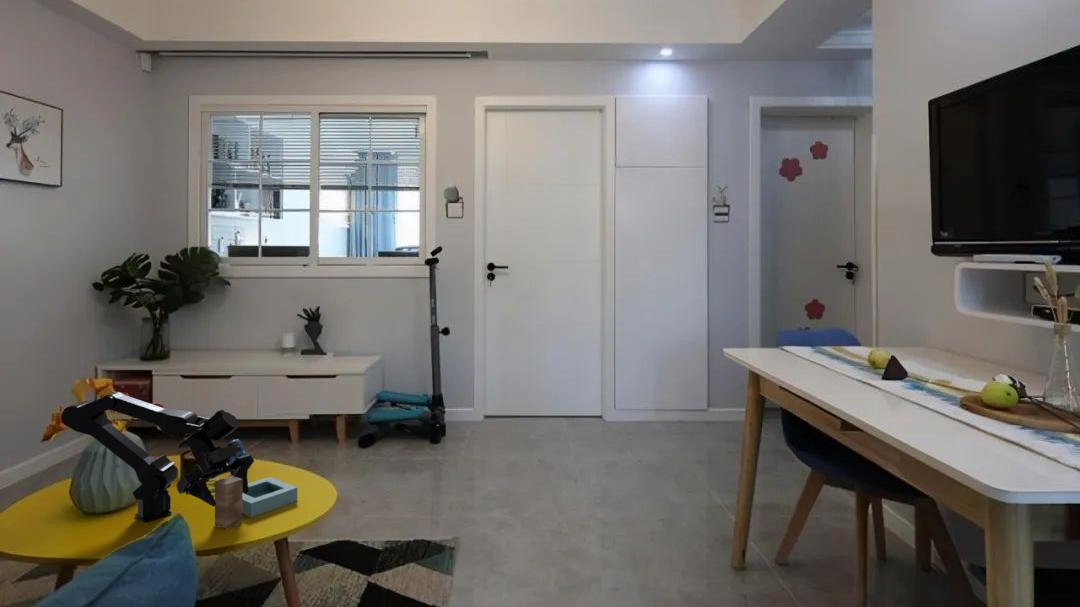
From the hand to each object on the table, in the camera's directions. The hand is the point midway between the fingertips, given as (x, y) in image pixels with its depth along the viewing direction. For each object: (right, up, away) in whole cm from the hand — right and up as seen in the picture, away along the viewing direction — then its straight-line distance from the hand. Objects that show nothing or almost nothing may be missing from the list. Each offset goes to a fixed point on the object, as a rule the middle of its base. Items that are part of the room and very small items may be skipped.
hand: (231, 499), depth 146 cm
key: (-18, -6, +23) cm, 30 cm away
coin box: (0, -6, +15) cm, 16 cm away
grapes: (-18, -5, +36) cm, 40 cm away
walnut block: (-1, -7, +1) cm, 7 cm away
